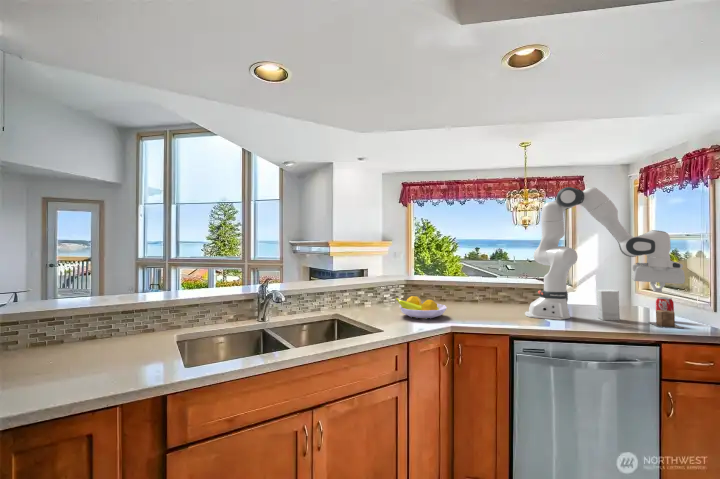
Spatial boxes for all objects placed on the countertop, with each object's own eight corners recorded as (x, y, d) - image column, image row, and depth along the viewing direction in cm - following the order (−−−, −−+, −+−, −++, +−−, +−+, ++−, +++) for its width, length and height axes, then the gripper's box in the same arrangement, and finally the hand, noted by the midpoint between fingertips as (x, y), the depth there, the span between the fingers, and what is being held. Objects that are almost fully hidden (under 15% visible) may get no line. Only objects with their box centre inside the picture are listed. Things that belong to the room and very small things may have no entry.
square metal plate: (658, 327, 169) (658, 314, 169) (648, 322, 178) (648, 311, 178) (683, 328, 166) (683, 316, 166) (672, 323, 175) (672, 312, 175)
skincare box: (615, 318, 189) (614, 289, 189) (620, 321, 182) (619, 291, 183) (597, 317, 191) (596, 289, 191) (601, 320, 185) (601, 290, 185)
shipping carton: (661, 325, 170) (661, 311, 170) (656, 323, 175) (656, 310, 175) (674, 326, 169) (674, 312, 169) (669, 323, 174) (668, 310, 174)
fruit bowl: (442, 312, 211) (442, 293, 211) (449, 322, 184) (449, 300, 184) (395, 311, 214) (395, 293, 214) (395, 321, 187) (395, 300, 187)
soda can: (677, 322, 178) (677, 299, 178) (661, 322, 179) (661, 298, 179) (668, 319, 185) (667, 296, 185) (652, 319, 186) (652, 296, 186)
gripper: (635, 262, 173) (635, 290, 172) (687, 264, 166) (686, 294, 166) (630, 262, 179) (629, 289, 178) (679, 264, 172) (679, 292, 172)
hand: (657, 291), depth 172 cm, fingers closed
